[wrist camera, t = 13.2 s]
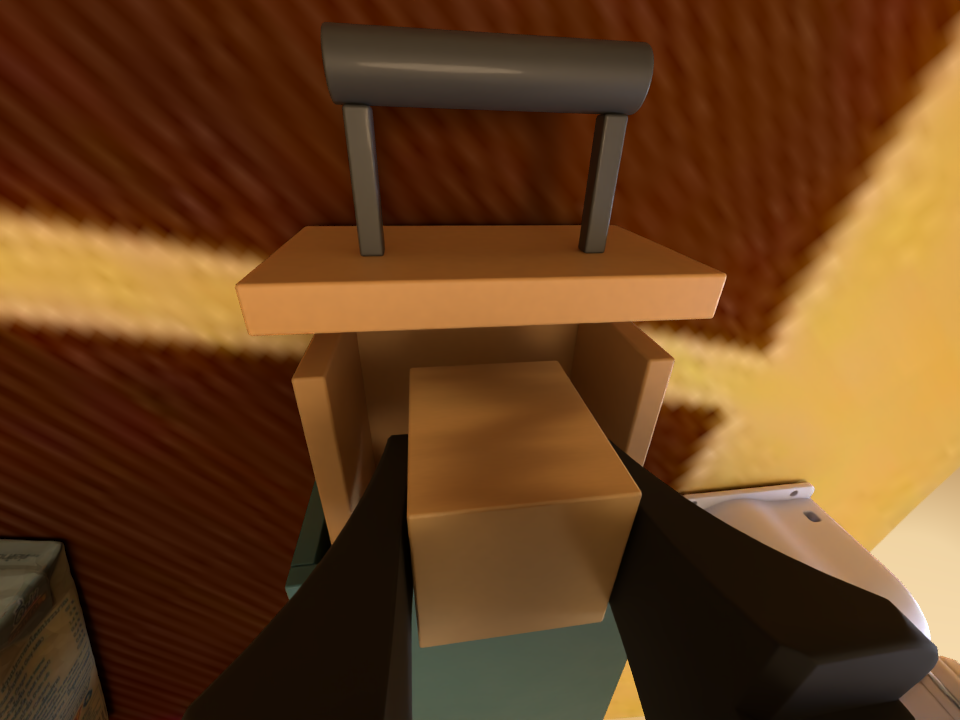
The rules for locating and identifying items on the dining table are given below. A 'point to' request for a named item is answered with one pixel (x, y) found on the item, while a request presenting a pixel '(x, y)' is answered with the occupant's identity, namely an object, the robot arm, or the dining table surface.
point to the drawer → (471, 257)
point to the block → (510, 502)
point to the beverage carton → (44, 638)
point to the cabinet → (495, 659)
